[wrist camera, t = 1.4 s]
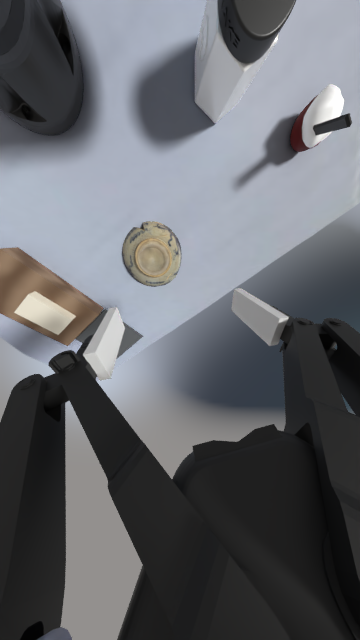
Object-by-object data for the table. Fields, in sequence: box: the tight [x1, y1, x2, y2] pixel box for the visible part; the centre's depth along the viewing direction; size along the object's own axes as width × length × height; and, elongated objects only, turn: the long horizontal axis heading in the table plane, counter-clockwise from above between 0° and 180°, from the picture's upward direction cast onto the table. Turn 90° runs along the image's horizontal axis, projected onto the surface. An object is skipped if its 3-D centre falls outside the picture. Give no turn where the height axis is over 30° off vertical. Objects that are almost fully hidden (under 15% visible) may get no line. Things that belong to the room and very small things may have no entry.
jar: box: [195, 0, 296, 124], centre depth 18 cm, size 9×8×12 cm
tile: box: [14, 291, 76, 335], centre depth 32 cm, size 9×6×2 cm, turn 40°
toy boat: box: [290, 84, 352, 152], centre depth 23 cm, size 10×6×12 cm, turn 124°
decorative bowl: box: [123, 222, 181, 287], centre depth 33 cm, size 15×4×15 cm
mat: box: [76, 310, 143, 359], centre depth 44 cm, size 14×14×1 cm
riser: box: [0, 248, 103, 346], centre depth 34 cm, size 20×14×4 cm
